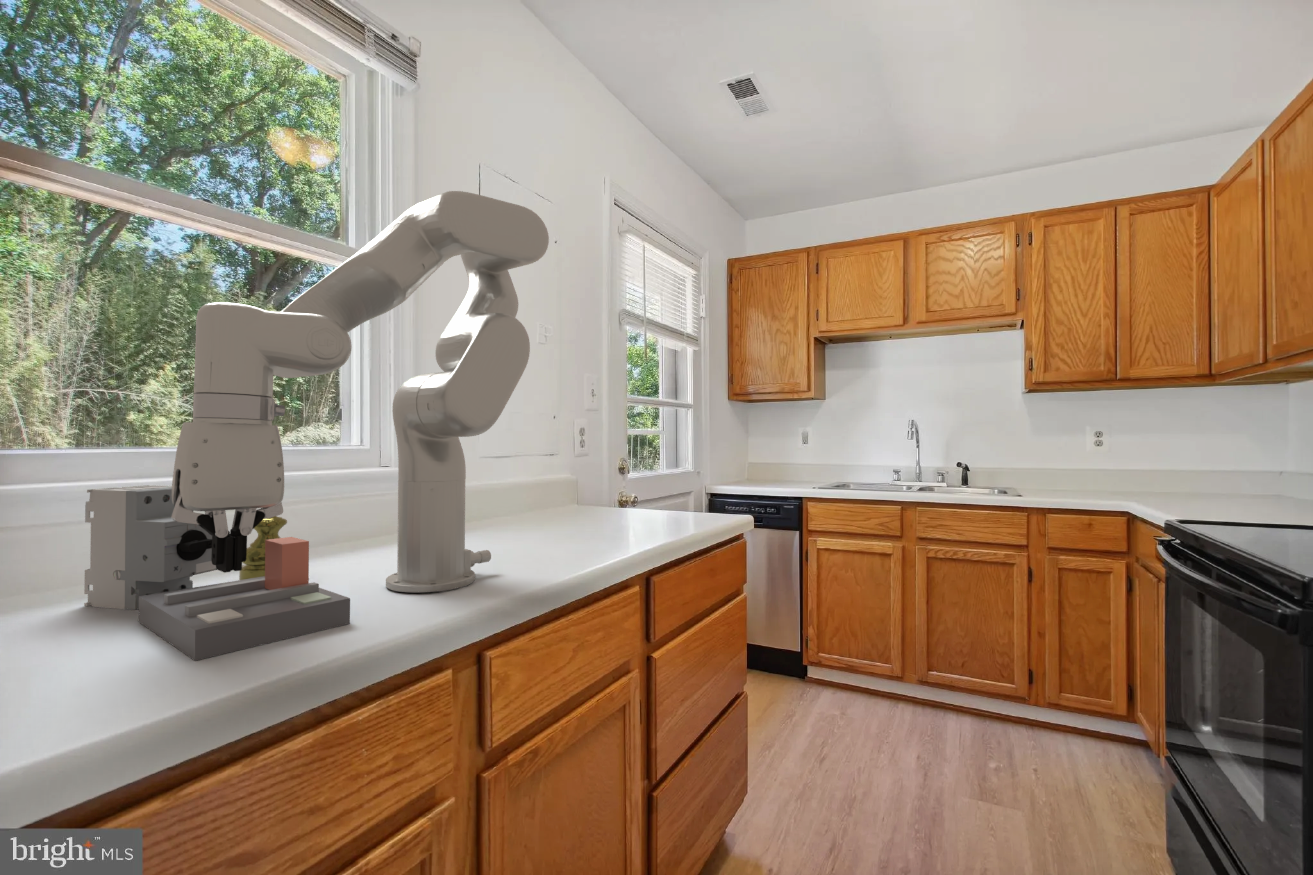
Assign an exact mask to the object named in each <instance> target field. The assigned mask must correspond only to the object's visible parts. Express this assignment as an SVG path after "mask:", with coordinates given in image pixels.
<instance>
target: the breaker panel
mask: <svg viewBox="0 0 1313 875" xmlns="http://www.w3.org/2000/svg"><path fill="white" fill-rule="evenodd" d="M138 623H140V624H141V625H142V626H144V627H146V628H147V629H148V630H150V631H151V632H153V633H154V634H156V635H157V636H158V637H160V638H161V639H163V640H164V641H166V642H167V643H168V644H170V645H171V646H173V647H175V648H176V649H177V650H179V651H180V652H182V653H183V654H185V655H186V656H187V657H188V658H190V659H192V660H193V661H200V660H204V659H207V658H212V657H216V656H220V655H224V654H225V655H226V654H229V653H233V652H237V651H241V650H246V649H249V648H254V647H258V646H262V645H266V644H267V645H268V644H270V643H275V642H278V641H283V640H288V639H293V638H296V637H300V636H304V635H307V634H312V633H316V632H320V631H324V630H329V629H332V628H333V629H334V628H336V627H341V626H346V625H349V624H350V623H351V598H350V597H348V596H345V595H342V594H339V593H336V592H334V591H331V590H328V589H324V588H322V587H320V585H319V583H318V582H309V583H307V584H302V585H296V586H290V587H285V588H279V589H273V590H269V589H266V588H265V576H263V577H257V578H250V579H244V580H239V579H237V580H232V581H227V582H225V581H224V582H220V583H214V584H208V585H202V586H201V585H200V586H195V587H193V588H188V589H181V590H175V591H169V592H163V593H156V594H150V595H144V596H139V609H138Z"/></svg>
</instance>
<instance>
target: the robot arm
mask: <svg viewBox="0 0 1313 875" xmlns="http://www.w3.org/2000/svg"><path fill="white" fill-rule="evenodd" d="M549 238H550V237H549V231H548V228H547V226H546V224H545V222H544V220H542V218H541V217H540V216H539V215H538V214H537V213H536V212H534V211H533V210H532V209H529V208H528V207H527V206H522V205H519V204H515V203H512V202H508V201H504V200H501V199H496V198H493V197H489V196H485V195H481V194H476V193H472V192H469V191H463V190H462V191H461V190H449V191H446V192H442V193H439V194H437V195H435V196H433V197H430V198H428V199H426V200H424V201H421V202H417V203H415V205H413V206H411V207H410V208H408V209H407V210H405V211H404V212H403V213H402V214H401V215H400V216H398V217H397V218H396V219H395V220H394V221H392V222H391V223H390V224H389V225H388V226H387V227H385V228H384V229H383V230H382V231H381V232H380V233H379V234H378V235H376V236H375V237H374V238H373V239H372V240H370V241H369V242H367V244H365V245H364V246H363V247H362V248H361V249H359V250H358V251H357V252H355V254H353V255H352V256H350V257H349V258H348V259H346V260H345V261H344V262H343V263H341V264H339V266H337V267H336V268H335V269H333V270H332V271H331V272H329V274H327V275H326V276H325V277H323V278H322V279H321V280H319V281H318V282H317V283H315V284H314V285H312V286H311V287H310V288H308V289H307V290H306V291H304V292H303V293H301V294H300V295H299V296H297V297H296V298H295V299H294V300H293V301H291V302H289V304H288V305H286V306H285V308H282V310H281V311H270V310H266V309H263V308H259V307H258V306H257V307H256V306H252V305H248V304H242V303H235V302H221V301H220V302H209V303H206V304H204V305H201V306H200V307H199V309H198V310H197V313H196V322H195V351H194V352H195V353H194V373H193V374H194V375H193V376H194V377H193V403H192V405H193V406H192V407H193V408H192V409H193V410H192V422H191V421H190V422H188V421H187V422H185V421H184V422H182V425H181V429H180V431H179V432H180V433H179V436H178V442H177V446H176V452H175V458H174V465H173V474H172V483H171V486H172V502H173V504H174V505H175V507H174V510H173V513H172V519H173V520H174V521H177V522H183V523H190V524H198V525H199V526H200V527H202V528H203V529H204V530H205V531H207V532H208V533H209V534H210V535H212V557H211V561H212V564H213V565H216V569H217V570H216V571H220V572H222V573H224V574H225V573H230V572H231V571H234V572H239V571H241V570H242V565H243V563H242V562H245V561H246V557H247V548H248V536H249V535H251V534H252V532H253V530H255V529H254V528H255V527H256V526H257V525H258V524H259V523H260V522H261V521H262V520H263V519H268V518H271V517H274V516H277V517H279V516H281V515H282V514H283V513H284V507H283V504H282V503H283V500H284V496H285V466H284V464H285V463H284V456H283V455H284V454H283V447H282V441H281V435H280V431H279V427H278V425H277V424H275V425H274V424H273V421H274V420H275V418H276V417H279V416H280V417H284V415H286V414H285V413H286V408H285V407H286V406H285V405H284V404H278V403H275V402H276V401H275V398H273V396H274V376H276V377H278V378H282V379H283V378H284V379H293V378H294V379H296V378H302V377H314V376H320V375H326V374H330V373H333V372H335V371H337V370H338V369H340V368H341V367H343V366H344V365H345V364H346V363H347V361H348V360H349V358H350V356H351V353H352V348H353V347H352V345H353V344H352V339H351V337H350V335H349V333H350V331H352V330H354V329H356V328H357V327H359V326H361V325H362V324H363V323H366V322H367V321H371V320H373V319H375V318H377V317H379V316H382V315H383V314H386V313H388V312H390V311H391V310H394V309H395V308H397V307H398V306H400V305H401V304H402V303H404V302H405V301H407V300H408V298H410V297H411V296H412V295H413V293H415V291H417V290H418V288H420V287H421V286H422V285H423V284H424V283H425V282H426V281H427V280H428V279H429V278H430V277H431V276H432V275H433V274H434V273H436V271H437V270H439V268H440V267H441V266H442V265H443V264H445V262H446V261H447V262H448V260H450V259H451V258H453V257H457V256H460V257H461V261H462V264H463V266H464V269H465V271H466V276H467V279H468V289H467V292H466V294H465V296H464V298H463V300H462V301H461V304H460V305H459V307H457V310H456V311H455V312H454V314H453V315H452V317H451V319H450V320H449V322H448V324H447V325H446V327H444V330H443V331H442V333H441V334H440V337H439V338H438V340H437V343H436V345H435V360H436V363H437V365H438V366H439V368H440V369H441V370H442V371H440V372H430V373H422V374H418V375H415V376H412V377H411V378H408V379H407V380H405V381H403V383H402V384H401V385H400V386H399V387H398V389H397V390H396V392H395V394H394V397H393V401H392V419H393V426H394V430H395V436H396V437H395V438H396V444H397V458H398V459H397V460H398V461H397V462H398V468H397V469H398V470H397V471H398V472H397V473H398V475H397V479H398V481H397V483H398V484H397V560H396V562H397V564H396V565H397V568H396V570H397V572H394V573H392V574H390V575H388V576H387V577H386V578H385V587H386V588H387V589H389V590H392V591H393V592H400V593H415V594H417V593H418V594H419V593H423V594H424V593H435V592H437V593H438V592H445V591H452V590H455V589H459V588H463V587H466V586H468V585H470V584H472V583H473V582H475V580H476V573H475V571H474V570H472V567H474V566H475V564H482V563H483V564H484V563H487V562H488V563H489V562H490V561H491V559H492V553H491V552H490V550H488V549H484V550H478V551H476V552H474V551H472V550H471V549H467V548H466V478H467V476H466V475H467V474H466V473H467V472H466V468H467V467H466V459H465V458H466V457H465V454H464V450H463V446H462V443H461V441H460V438H463V437H464V438H466V437H467V438H470V437H476V436H479V435H482V434H484V433H485V432H487V431H488V430H490V429H491V428H492V427H493V426H494V424H496V422H497V421H498V420H499V418H500V416H501V415H502V413H503V411H504V409H505V408H506V405H507V404H508V402H509V400H510V398H511V396H512V395H513V392H514V391H515V390H516V387H517V386H518V383H519V381H520V379H521V378H522V376H523V374H524V372H525V370H526V368H527V365H528V363H529V359H530V354H531V342H530V338H529V334H528V331H527V329H526V328H525V326H524V324H523V323H522V322H521V321H520V320H519V319H518V318H516V317H517V313H518V311H519V298H518V294H517V292H516V288H515V287H514V283H513V281H512V280H513V279H512V277H511V274H510V272H509V270H512V269H516V268H520V267H523V266H528V265H531V264H534V263H536V262H538V261H539V260H540V259H542V258H543V257H544V256H545V254H546V252H547V250H548V247H549V242H550V239H549ZM192 510H193V511H192ZM233 510H235V511H234V515H233V520H232V524H231V529H230V531H229V527H228V519H227V511H233ZM200 512H204V513H200Z"/></svg>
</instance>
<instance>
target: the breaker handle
mask: <svg viewBox="0 0 1313 875" xmlns="http://www.w3.org/2000/svg"><path fill="white" fill-rule="evenodd" d="M309 560H310V541H309V540H305V539H302V538H298V537H293V536H289V537H288V536H287V537H280V538H277V539H269V540H265V588H266V589H269V590H273V589H279V588H285V587H290V586H296V585H302V584H307V583H310V582H309V580H310V577H309V576H310V575H309V574H310V572H309V571H310V570H309V569H310V568H309V566H310V564H309V563H310V561H309Z"/></svg>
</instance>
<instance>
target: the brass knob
mask: <svg viewBox="0 0 1313 875" xmlns="http://www.w3.org/2000/svg"><path fill="white" fill-rule="evenodd" d="M287 524H288V520H287V519H286V518H283V517H282V516H274V517H271V518H268V519H263V520H262V521H261V522H260V523H259V524H258V525H257V526H256V527H255V528H254V529H253V530H255V532H256V533H257V537H256V538H255V539H254V541H252V542H251V543H250V544H249V546H247V557H246V561H245V562H242V570H241V571H238V580H244V579H250V578H257V577H263V576H265V540H269V539H277V538H281V537H280V535H279V533H280V530H282V528H283V527H284V526H285V525H287Z"/></svg>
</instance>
